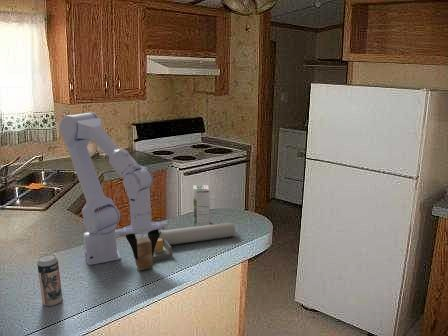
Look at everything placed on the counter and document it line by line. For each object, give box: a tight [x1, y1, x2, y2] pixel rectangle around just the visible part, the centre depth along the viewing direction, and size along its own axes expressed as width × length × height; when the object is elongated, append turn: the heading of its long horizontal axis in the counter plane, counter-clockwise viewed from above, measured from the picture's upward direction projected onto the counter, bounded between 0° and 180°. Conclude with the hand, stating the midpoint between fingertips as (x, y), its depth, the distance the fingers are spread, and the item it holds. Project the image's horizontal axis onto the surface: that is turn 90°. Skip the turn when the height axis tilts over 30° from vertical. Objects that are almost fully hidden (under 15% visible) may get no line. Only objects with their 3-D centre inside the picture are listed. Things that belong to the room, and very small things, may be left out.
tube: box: [159, 222, 236, 246], centre depth 140 cm, size 5×5×25 cm
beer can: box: [36, 253, 64, 307], centre depth 105 cm, size 5×5×12 cm
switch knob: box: [154, 239, 163, 251], centre depth 130 cm, size 2×3×3 cm, turn 114°
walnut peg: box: [135, 235, 154, 271], centre depth 121 cm, size 4×4×8 cm
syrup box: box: [192, 184, 211, 227], centre depth 152 cm, size 6×6×14 cm
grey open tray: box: [140, 232, 174, 263], centre depth 132 cm, size 12×7×4 cm, turn 24°
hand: (143, 256), depth 121 cm, fingers closed on walnut peg, 4 cm apart
